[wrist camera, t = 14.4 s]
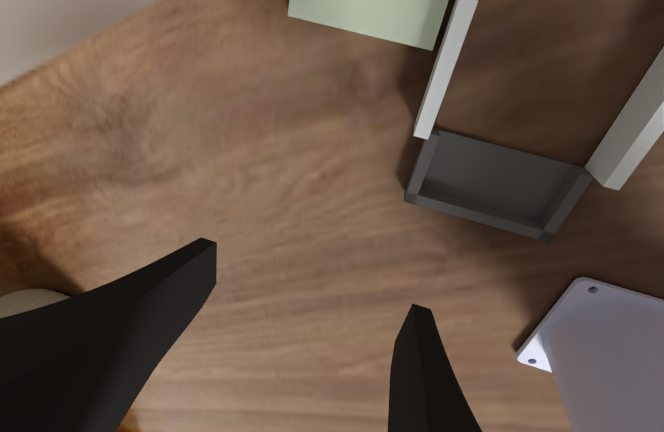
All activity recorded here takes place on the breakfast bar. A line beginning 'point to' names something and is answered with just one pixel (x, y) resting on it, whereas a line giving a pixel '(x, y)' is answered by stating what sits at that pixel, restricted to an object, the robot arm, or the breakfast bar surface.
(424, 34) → the pad
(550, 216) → the tray
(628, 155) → the white bars
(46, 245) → the breakfast bar surface
